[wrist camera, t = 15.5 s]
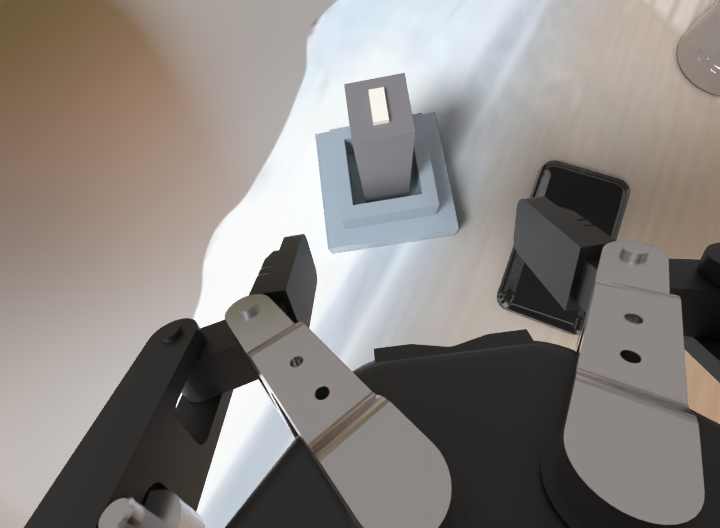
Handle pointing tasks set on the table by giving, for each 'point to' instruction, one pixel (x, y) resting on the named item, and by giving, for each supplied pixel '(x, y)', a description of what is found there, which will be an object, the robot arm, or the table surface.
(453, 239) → the table surface
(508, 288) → the phone
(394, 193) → the block
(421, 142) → the outlet box
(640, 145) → the table surface
